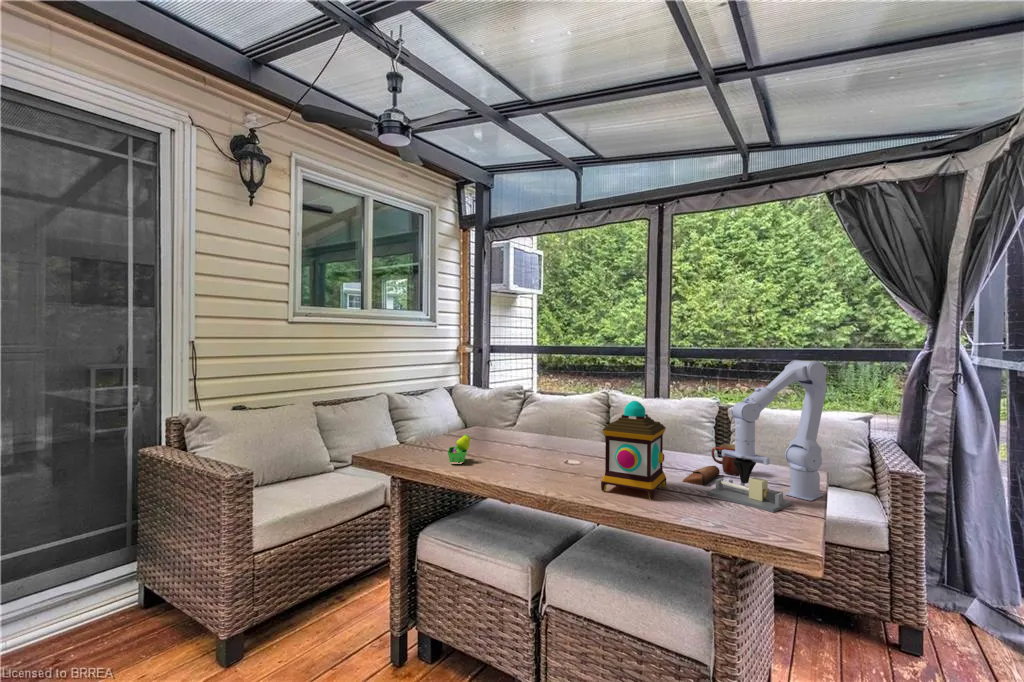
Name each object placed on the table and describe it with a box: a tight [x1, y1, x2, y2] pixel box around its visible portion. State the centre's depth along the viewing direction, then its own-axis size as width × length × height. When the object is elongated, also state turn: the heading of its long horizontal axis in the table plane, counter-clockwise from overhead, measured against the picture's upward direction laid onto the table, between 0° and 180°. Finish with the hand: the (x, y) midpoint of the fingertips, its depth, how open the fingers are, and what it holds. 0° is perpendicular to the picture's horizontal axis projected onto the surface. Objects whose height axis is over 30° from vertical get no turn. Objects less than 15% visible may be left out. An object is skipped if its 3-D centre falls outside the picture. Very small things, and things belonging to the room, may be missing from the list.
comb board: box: [706, 477, 792, 514], centre depth 152 cm, size 21×12×4 cm, turn 37°
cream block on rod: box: [748, 476, 769, 501], centre depth 150 cm, size 4×4×6 cm
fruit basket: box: [447, 434, 471, 463], centre depth 197 cm, size 11×9×11 cm
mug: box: [711, 443, 739, 476], centre depth 184 cm, size 12×9×10 cm
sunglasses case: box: [682, 465, 721, 487], centre depth 175 cm, size 18×7×7 cm, turn 142°
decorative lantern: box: [600, 400, 667, 501], centre depth 162 cm, size 20×20×30 cm
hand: (744, 482), depth 153 cm, fingers closed
